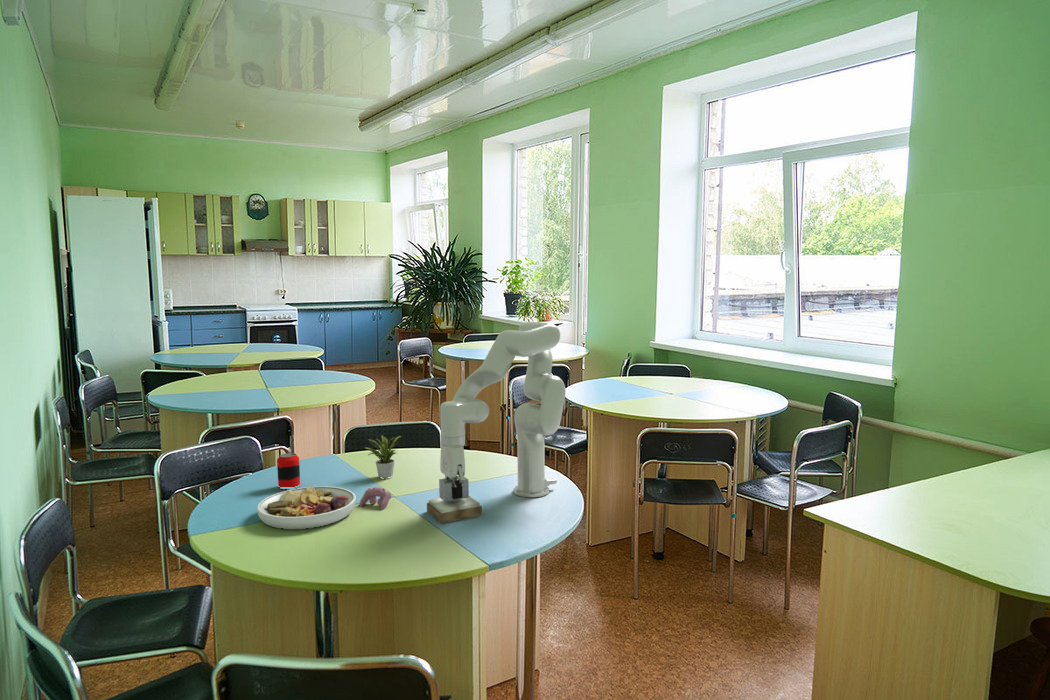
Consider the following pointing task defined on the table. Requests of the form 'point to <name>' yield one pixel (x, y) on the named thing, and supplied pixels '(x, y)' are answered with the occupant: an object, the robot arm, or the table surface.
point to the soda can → (288, 470)
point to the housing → (446, 489)
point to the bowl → (306, 507)
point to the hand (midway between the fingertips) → (454, 495)
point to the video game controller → (371, 496)
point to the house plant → (384, 457)
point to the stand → (454, 509)
